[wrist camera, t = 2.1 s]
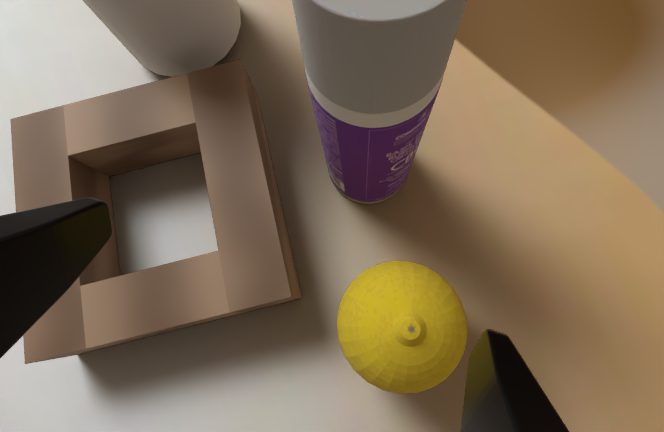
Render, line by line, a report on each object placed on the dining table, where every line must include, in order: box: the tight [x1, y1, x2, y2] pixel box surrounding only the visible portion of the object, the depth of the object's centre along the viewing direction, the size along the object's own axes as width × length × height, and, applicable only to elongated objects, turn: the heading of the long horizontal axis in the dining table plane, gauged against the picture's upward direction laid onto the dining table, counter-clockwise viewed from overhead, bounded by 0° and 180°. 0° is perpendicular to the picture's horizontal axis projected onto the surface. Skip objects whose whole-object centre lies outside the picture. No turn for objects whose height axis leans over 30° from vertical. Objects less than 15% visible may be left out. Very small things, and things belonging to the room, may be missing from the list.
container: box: [292, 0, 467, 204], centre depth 16 cm, size 5×5×15 cm
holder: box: [11, 59, 302, 364], centre depth 22 cm, size 13×13×4 cm
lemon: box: [337, 261, 468, 394], centre depth 17 cm, size 6×6×8 cm
